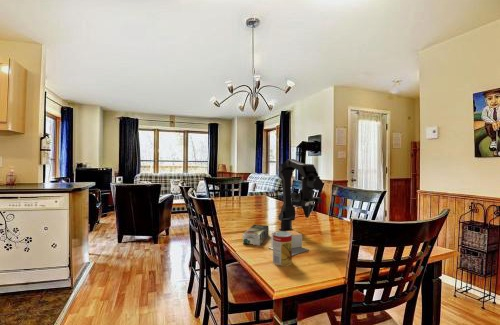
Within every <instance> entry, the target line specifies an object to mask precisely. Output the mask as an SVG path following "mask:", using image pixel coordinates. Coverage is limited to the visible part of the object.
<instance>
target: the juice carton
mask: <svg viewBox="0 0 500 325" xmlns="http://www.w3.org/2000/svg"><path fill="white" fill-rule="evenodd" d="M268 236H269V225H265V224H264V225H262V224H253V225H252V226H250V227H249V228H248V229H247V230H246V231H244V233H242V244H243V243H244V245H245V244H248V245H250V244H253V246H261V245H262V244H263V242H264V241H265V240H266V239H267V238H268Z"/></svg>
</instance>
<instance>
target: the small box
mask: <svg viewBox="0 0 500 325" xmlns="http://www.w3.org/2000/svg"><path fill="white" fill-rule="evenodd" d="M285 232H290V233H291V234H292V248H296V247H303V234H302V233H300V232H298V231H295V229H294V230H292V231H285ZM273 233H274V232H271V242H270V243H271V247H272V246H273Z"/></svg>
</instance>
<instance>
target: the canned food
mask: <svg viewBox="0 0 500 325" xmlns="http://www.w3.org/2000/svg"><path fill="white" fill-rule="evenodd" d="M272 233H273V250H272V263H273V264H274V263H275V264H274V265H276V264H277V265H276V266H279V265H281V266H282V267H287V265H288V266H291V265H292V263H293V262H292V261H293V256H292V234H291V233H290V232H285V231H282V230H279V231H275V232H272ZM281 266H280V267H281Z"/></svg>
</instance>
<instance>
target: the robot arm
mask: <svg viewBox="0 0 500 325" xmlns="http://www.w3.org/2000/svg"><path fill="white" fill-rule="evenodd" d="M295 170H297V171H298V173H299V174H300V175H301V176H300V178H299V179H300V180H301V189H299V192H295V191H293V192H292V188H291V185H292V184H291V179H292V177H293V175H294V172H295ZM278 173H279V177H280V179H281V181H282V198H283V199H282V200H283V204H282V206H281V208H280V213H279V214H278V216H277V217H278V220H279V221H280V228H279V231H292V230H294V231H295V229H294V228H293V221H295V220H296V215H297V214H296V207H301V209H302V211H303V214H304V216H305V219H309V218H310V215H311V214H312V211H313V209H314V207H316V204H314V203H317V204H322V203H323V199H322V197H319V196H314V193H315V191H321V190H322V189H323V187H324V181H323V180H322V179H321V178H320V176H319V173H318V171H317V169H316V167H315V165H314V164H312V163H303V162H300V161H298V160H296V159H294V158H287V159H286V161H284V162H282V163H281V164H280V166H279V167H278Z"/></svg>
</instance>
